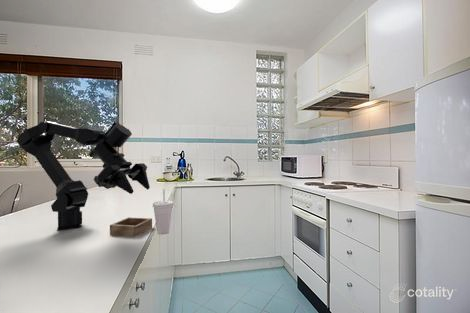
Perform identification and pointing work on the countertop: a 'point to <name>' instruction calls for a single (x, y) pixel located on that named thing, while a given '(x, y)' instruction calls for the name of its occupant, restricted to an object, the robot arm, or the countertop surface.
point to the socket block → (131, 226)
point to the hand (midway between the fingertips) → (141, 190)
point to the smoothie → (163, 215)
